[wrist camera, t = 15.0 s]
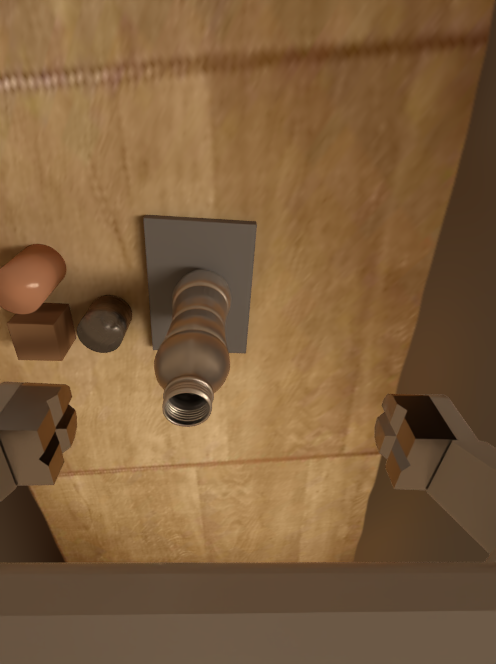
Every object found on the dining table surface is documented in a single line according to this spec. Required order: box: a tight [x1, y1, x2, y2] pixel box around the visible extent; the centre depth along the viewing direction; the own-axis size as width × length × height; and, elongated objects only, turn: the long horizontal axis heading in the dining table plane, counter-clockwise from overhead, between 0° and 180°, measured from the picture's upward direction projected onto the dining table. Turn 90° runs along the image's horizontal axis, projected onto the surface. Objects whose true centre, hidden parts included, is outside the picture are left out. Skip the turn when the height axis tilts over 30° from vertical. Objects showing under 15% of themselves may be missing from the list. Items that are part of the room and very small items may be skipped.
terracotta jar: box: [0, 244, 66, 314], centre depth 42 cm, size 5×5×7 cm
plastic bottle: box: [154, 270, 232, 427], centre depth 37 cm, size 6×7×20 cm
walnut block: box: [7, 303, 76, 361], centre depth 47 cm, size 5×5×5 cm
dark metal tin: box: [77, 295, 132, 353], centre depth 46 cm, size 5×5×5 cm
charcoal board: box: [144, 215, 257, 353], centre depth 46 cm, size 17×12×1 cm
